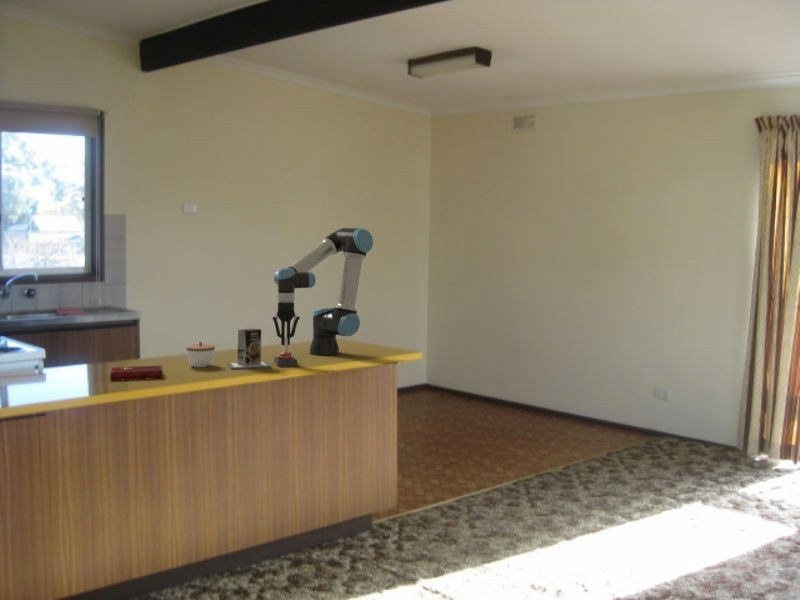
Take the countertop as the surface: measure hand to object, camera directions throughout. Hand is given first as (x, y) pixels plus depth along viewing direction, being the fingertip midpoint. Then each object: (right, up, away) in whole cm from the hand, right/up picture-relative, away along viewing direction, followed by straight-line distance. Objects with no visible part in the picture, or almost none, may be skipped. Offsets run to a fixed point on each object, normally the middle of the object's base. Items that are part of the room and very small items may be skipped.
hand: (285, 352), depth 370 cm
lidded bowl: (-38, -6, -7) cm, 39 cm away
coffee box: (-16, -6, -5) cm, 17 cm away
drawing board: (-16, -6, -5) cm, 18 cm away
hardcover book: (-58, -9, -35) cm, 68 cm away
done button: (0, -3, 0) cm, 4 cm away
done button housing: (0, -6, +1) cm, 6 cm away
